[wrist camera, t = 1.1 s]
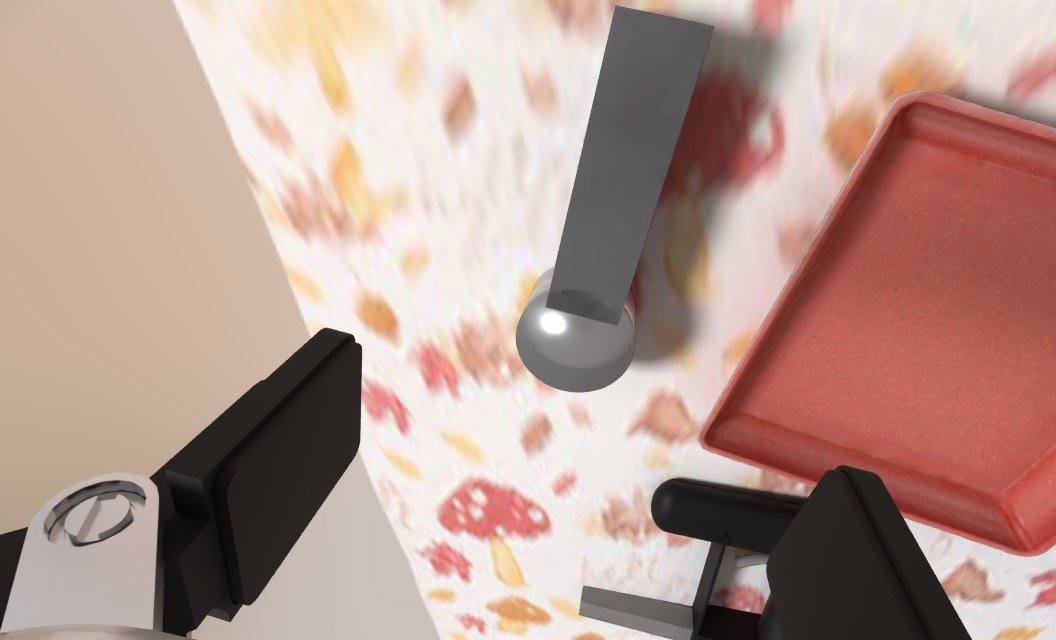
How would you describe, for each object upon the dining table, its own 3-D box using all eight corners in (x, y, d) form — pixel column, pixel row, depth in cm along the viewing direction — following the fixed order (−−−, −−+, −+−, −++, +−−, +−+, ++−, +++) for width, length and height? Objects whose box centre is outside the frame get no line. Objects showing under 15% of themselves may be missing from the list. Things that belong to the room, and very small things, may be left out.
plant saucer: (686, 410, 29) (691, 450, 26) (868, 77, 20) (906, 82, 17) (996, 511, 29) (1035, 563, 26) (1329, 212, 19) (1448, 241, 17)
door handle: (572, 669, 40) (793, 732, 36) (593, 485, 30) (896, 547, 27) (578, 628, 43) (785, 683, 39) (600, 447, 33) (876, 499, 30)
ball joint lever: (592, 5, 21) (584, -2, 17) (730, 35, 20) (747, 33, 17) (521, 339, 29) (507, 375, 26) (618, 365, 28) (615, 404, 25)
